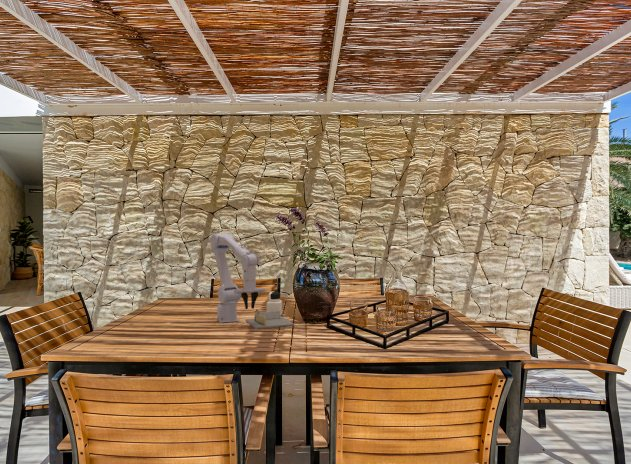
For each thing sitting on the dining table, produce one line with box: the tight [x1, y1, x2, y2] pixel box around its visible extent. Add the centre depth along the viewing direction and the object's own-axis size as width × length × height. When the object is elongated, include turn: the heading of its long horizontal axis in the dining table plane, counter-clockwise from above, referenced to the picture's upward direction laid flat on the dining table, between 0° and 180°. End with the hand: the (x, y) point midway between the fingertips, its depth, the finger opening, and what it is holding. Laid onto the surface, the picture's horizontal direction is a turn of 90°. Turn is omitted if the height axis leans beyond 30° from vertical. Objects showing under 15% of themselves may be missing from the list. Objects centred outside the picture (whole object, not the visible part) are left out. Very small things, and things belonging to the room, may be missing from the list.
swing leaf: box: [254, 310, 266, 325], centre depth 224 cm, size 3×13×4 cm, turn 30°
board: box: [245, 315, 295, 330], centre depth 226 cm, size 19×19×1 cm
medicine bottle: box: [266, 291, 283, 316], centre depth 246 cm, size 7×7×12 cm
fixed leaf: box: [254, 309, 281, 321], centre depth 230 cm, size 13×3×5 cm, turn 112°
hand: (249, 308), depth 219 cm, fingers open, 2 cm apart
